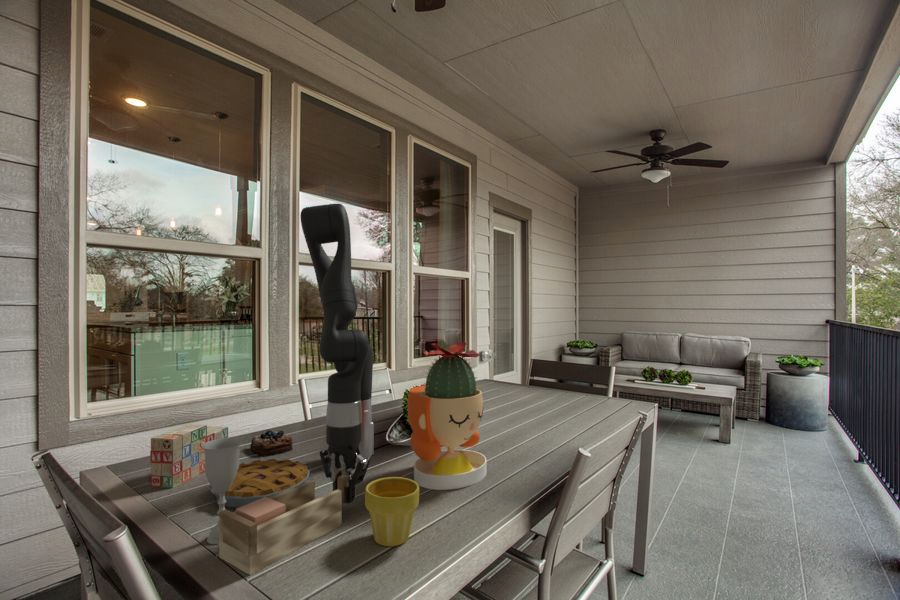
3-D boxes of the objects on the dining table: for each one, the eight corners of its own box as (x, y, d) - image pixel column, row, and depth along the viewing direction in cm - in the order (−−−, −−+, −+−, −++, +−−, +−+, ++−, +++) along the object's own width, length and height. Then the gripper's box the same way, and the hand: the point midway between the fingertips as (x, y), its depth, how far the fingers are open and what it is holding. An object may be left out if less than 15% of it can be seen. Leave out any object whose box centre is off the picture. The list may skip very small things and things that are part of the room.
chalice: (211, 528, 89) (212, 438, 89) (247, 526, 89) (247, 437, 90) (193, 548, 82) (194, 450, 82) (232, 546, 82) (232, 449, 82)
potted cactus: (501, 471, 119) (501, 341, 120) (444, 497, 103) (444, 346, 103) (443, 452, 134) (444, 336, 134) (385, 473, 118) (386, 341, 118)
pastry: (260, 459, 129) (260, 439, 129) (246, 449, 138) (246, 430, 138) (296, 450, 136) (297, 431, 136) (281, 441, 145) (281, 423, 145)
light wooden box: (310, 513, 95) (311, 475, 95) (341, 525, 90) (341, 485, 90) (219, 557, 79) (219, 511, 79) (250, 575, 73) (250, 526, 74)
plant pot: (420, 523, 91) (420, 475, 91) (418, 551, 80) (418, 497, 81) (369, 524, 90) (369, 476, 91) (360, 552, 80) (360, 498, 80)
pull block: (339, 494, 100) (339, 467, 100) (358, 501, 96) (358, 472, 96) (235, 543, 79) (235, 508, 79) (255, 554, 76) (255, 517, 76)
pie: (263, 519, 93) (263, 495, 93) (187, 503, 100) (187, 481, 100) (327, 480, 113) (327, 461, 113) (259, 469, 121) (259, 451, 121)
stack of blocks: (209, 457, 130) (209, 415, 130) (228, 458, 129) (229, 416, 129) (149, 487, 109) (150, 437, 109) (172, 488, 108) (173, 438, 108)
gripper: (379, 422, 96) (379, 502, 96) (335, 413, 104) (334, 487, 104) (354, 430, 90) (354, 515, 90) (309, 420, 98) (308, 498, 98)
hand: (343, 499), depth 97 cm, fingers closed on pull block, 3 cm apart
